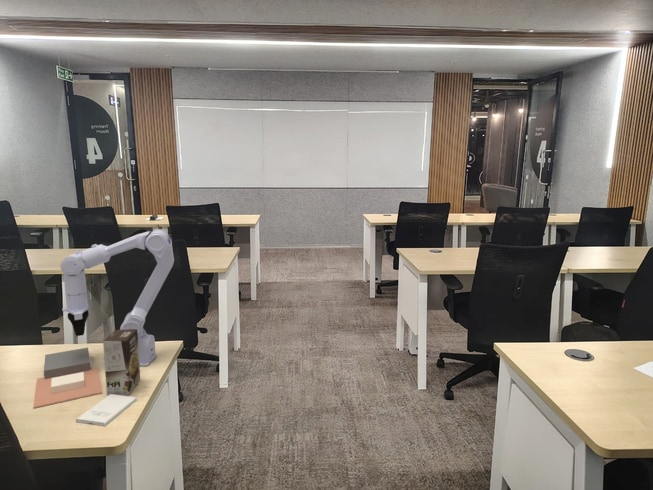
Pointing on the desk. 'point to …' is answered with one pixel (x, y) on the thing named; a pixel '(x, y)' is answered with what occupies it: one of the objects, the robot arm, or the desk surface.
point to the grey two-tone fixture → (66, 363)
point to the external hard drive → (106, 410)
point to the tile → (67, 382)
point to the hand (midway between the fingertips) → (79, 334)
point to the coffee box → (121, 362)
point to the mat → (47, 398)
